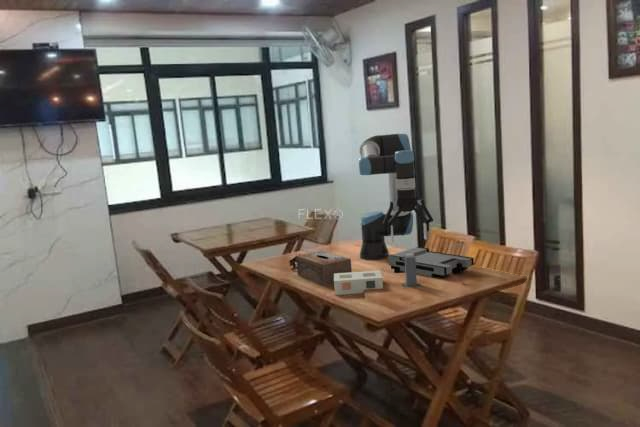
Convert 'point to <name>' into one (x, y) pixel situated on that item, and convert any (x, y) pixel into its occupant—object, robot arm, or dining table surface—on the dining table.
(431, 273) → the office tray
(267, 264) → the dining table surface
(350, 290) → the socket block
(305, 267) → the tissue box cover
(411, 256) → the plug
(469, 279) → the dining table surface
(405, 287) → the plate
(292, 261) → the pottery mug
